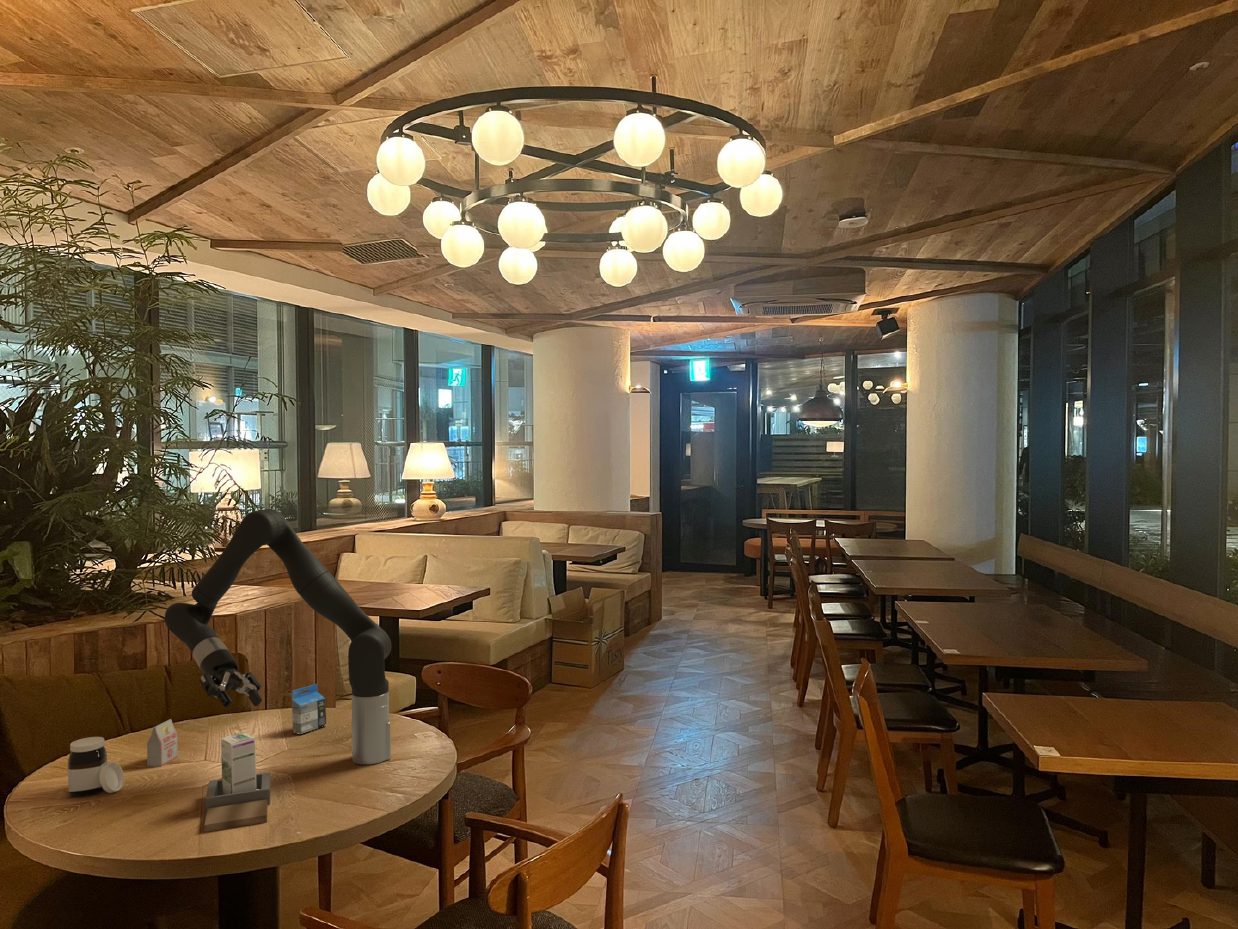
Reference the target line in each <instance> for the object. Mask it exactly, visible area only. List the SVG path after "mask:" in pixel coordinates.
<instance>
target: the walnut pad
mask: <svg viewBox="0 0 1238 929" xmlns="http://www.w3.org/2000/svg"><path fill="white" fill-rule="evenodd" d="M262 823H268V805H267V799H265V800H259V801H252V802H246V803H239V804H233V805H226V806H220V807H213V808H208V810H207V814H205V820H204V823H203V824H204V825H203V826H204V830H203V831H204V833H208V832H214V831H221V830H227V829H232V828H233V829H234V828H238V827H244V826H250V825H257V824H262Z"/></svg>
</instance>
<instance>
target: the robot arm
mask: <svg viewBox="0 0 1238 929" xmlns="http://www.w3.org/2000/svg"><path fill="white" fill-rule="evenodd" d="M263 546H267V547H269V548H270V549H271V550H272V552H274V554H275V555H277V557H278V558H279V559H280V560H281V561H282V563H283V565H284V567H285V569H286V571H287V574H288V577H289V580H290V583H291V584H292V586H293V589H294V590H295V591H296V592H297V594H298V595H299V597H301V598H302V599H303V601H304V602H305V603H307V605H308V606H309V607H310V608H311V609H312V610H313V611H315V612H316V613H318V614H319V615H321V617H323V618H325V619H327V620H328V621H330V622H332V623H333V624H335V625H336V626H337V627H338V628H340V629H341V630H342V631H343V633H344V634H345V635H346V636H347V638H349V640H350V641H351V642H350V644H349V646H348V653H347V664H348V666H347V667H348V682H349V685H350V688H351V735H352V737H351V744H352V745H351V746H352V749H351V750H352V751H351V756H352V757H351V758H352V762H353V763H354V764H357V765H373V764H379V763H382V762H384V761H388V760H391V759H392V758H391V752H392V751H391V721H390V703H389V702H390V700H389V699H390V697H389V696H390V692H389V691H390V689H389V688H390V686H389V685H390V684H389V683H390V682H389V680H388V679H387V678H386V673H385V672H386V671H385V669H386V668H385V666H386V665H385V659H386V658H388V656H389V655H390V653H391V650H392V641H391V638H390V636H389V635H388V633H387V632H386V631H385V630H384V629H383V628H381V626H380V625H379V624H378V623H377V622H375V621H374V620H373V619H372V618H371V617H370V616H368V614H366V613H365V611H364V610H363V609H361V607H360V606H359V604H357V603H356V602H355V600H354V599H353V598H352V596H351V595H350V594H349V593H348V592H347V591H346V590H345V588H344V587H343V586H342V585H341V584H340V582H339V581H338V580H337V579H336V577H335V576H334V575H333V574H332V573H331V572H330V571H329V570H328V569H327V568H326V567H325V566H324V564H323V563H322V562H321V561H320V560H319V559H318V557H317V556H315V554H313V552H312V551H311V550H310V549H309V548H308V547H307V546H306V545H305V543H304V542H303V541H302V539H301V538H300V537H299V536H298V534H297V532H295V530H294V528H293V527H292V526H291V524H290V522H289V521H288V520H287V519H286V517H285V516H284V515H283V514H282V513H281V512H279V511H278V510H276V509H272V508H263V509H259V510H255V511H251V512H249V513H247V514H246V515H245V516H244V517H243V518H242V520H241V521H240V523H239V524H238V526H237V528H236V530H235V531H234V533H233V535H232V536H231V539H230V540H229V542H228V543H227V545H226V546H225V548H224V550H222V552H221V554H220V555H219V557H218V558H217V559H216V560H215V562H214V563H213V564H212V565H211V566H210V568H209V569H208V571H207V572H205V574H204V575H203V576H202V577H201V579H199V581H198V582H197V583H196V584H195V585H194V587H193V589H192V590H191V597H192V599H193V600H194V601H195V602H196V603H195V604H194V603H186V602H175V603H173V604H170V605H169V606H168V607H167V609H166V610H165V612H164V623H165V625H166V627H167V629H168V630H169V631H170V632H171V633H172V634H173V635H174V636H175V637H177V639H179V640H180V641H181V642H183V643H184V644H185V645H186V646H187V648H188V649H189V651H190V653H191V654H192V656H193V658H194V660H195V662H196V664H197V666H198V667H199V669H200V671H201V672H202V673H203V674H202V675H201V677H200V678H199V680H198V681H199V684H200V685H201V687H202V688H203V691H204V692H205V694H206V696H207V697H212V696H214V697H215V698H216V699H218V700H219V703H221V705H222V706H223V707H224V709H229V708H230V707H231V706H232V704H233V699H232V697H231V696H230V695H229V693H228V692H227V691H236V692H237V693H238V694H243V695H244V694H245V695H246V696H247V697H248V699H249V701H250V702H251V703H252V705H253V706H254V707H259V706H260V704H261V702H262V701H263V700H262V696H260V694H259V691H260V690H261V688H262V685H261V684H260V682H259V681H258V679H257V678H256V677H255V675H254V674H253V673H252V672H251V671H249V670H248V671H247V672H246V673H244V674H242V673H241V672H240V671H239V670H238V662H237V661H236V658H234V656H233V655H232V653H231V651H230V650H229V648H228V647H227V645H226V644H225V643H224V642H223V641H222V639H221V638H220V636H218V634H217V632H216V631H215V630H214V628H213V627H211V626H210V625H208V624H209V623H210V620H211V619H212V616H213V614H214V611H215V609H216V607H217V604H218V603H219V602H220V600H221V599H222V598H223V596H224V595H225V594H226V593H227V592H228V591H229V589H230V588H231V587H232V586H233V584H234V582H235V581H236V579H237V578H238V575H239V574H240V571H241V569H242V567H243V566H244V564H245V563H246V562H247V561H248V560H249V558H250V557H251V556H252V555H253V554H254V553H255V552H257V551H258V550H259V549H260V548H262V547H263ZM242 683H243V685H242ZM241 686H242V687H241ZM246 688H247V689H246ZM248 689H249V690H248Z"/></svg>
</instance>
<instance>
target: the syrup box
mask: <svg viewBox="0 0 1238 929" xmlns="http://www.w3.org/2000/svg"><path fill="white" fill-rule="evenodd" d="M220 746H221V747H220V749H221V752H220V753H221V754H220V755H221V779H222V795H225V794H232V793H239V792H246V791H252V790H256V774H257V756H256V737H255V736H252V735H251V734H248V733H247V732H239V733H234V734H231V735H228V736H225V737H221V739H220Z"/></svg>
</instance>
